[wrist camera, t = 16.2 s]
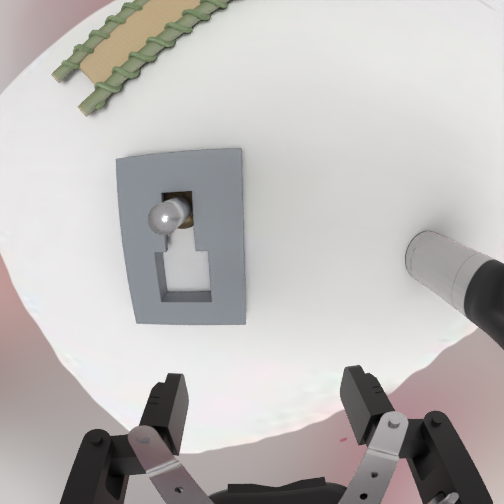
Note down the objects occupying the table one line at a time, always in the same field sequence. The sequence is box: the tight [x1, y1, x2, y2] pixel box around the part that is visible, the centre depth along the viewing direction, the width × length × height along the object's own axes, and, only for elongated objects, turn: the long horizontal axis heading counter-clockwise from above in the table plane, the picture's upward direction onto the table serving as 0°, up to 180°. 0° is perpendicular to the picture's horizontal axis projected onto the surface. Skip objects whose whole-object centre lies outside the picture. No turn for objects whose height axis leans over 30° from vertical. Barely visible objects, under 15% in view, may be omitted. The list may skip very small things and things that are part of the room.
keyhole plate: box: [116, 148, 246, 325], centre depth 42 cm, size 18×26×4 cm
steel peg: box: [148, 191, 194, 235], centre depth 36 cm, size 6×6×12 cm
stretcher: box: [51, 0, 230, 117], centre depth 31 cm, size 41×14×5 cm, turn 131°
